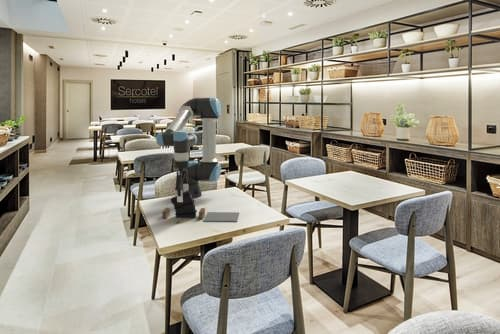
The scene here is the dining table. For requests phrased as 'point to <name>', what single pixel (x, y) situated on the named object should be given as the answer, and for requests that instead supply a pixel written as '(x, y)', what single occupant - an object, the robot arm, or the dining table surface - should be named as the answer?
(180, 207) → the black piece
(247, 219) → the dining table surface
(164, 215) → the walnut holder
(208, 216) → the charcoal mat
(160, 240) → the dining table surface
